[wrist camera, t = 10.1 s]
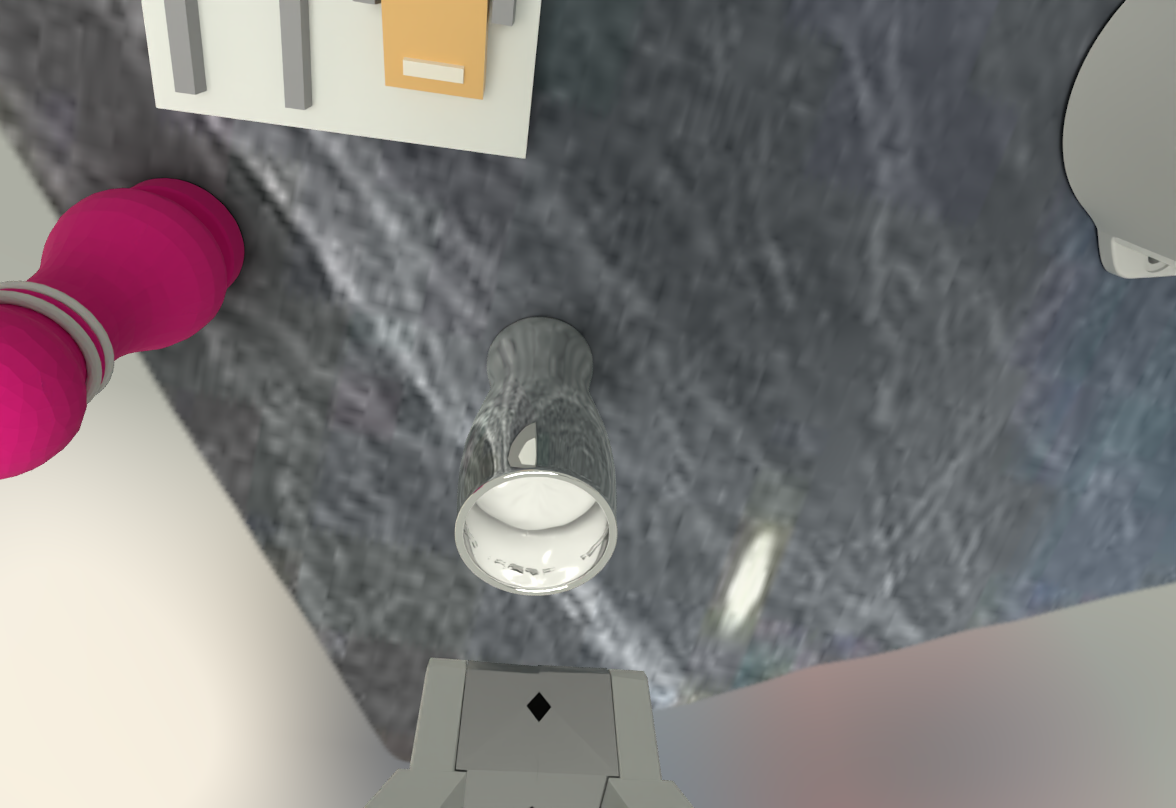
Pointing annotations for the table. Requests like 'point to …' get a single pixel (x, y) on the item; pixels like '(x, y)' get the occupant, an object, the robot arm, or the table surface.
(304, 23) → the console
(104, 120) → the table surface
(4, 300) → the pepper mill
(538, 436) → the beer glass
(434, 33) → the amber rocker
